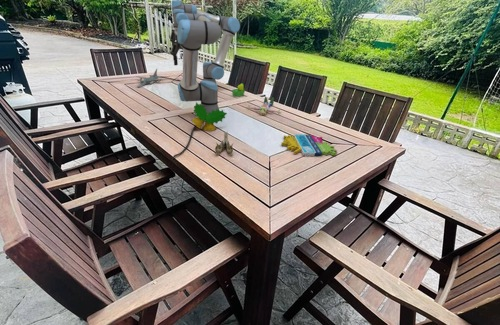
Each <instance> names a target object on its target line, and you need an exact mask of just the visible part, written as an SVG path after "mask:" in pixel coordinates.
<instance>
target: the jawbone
mask: <svg viewBox="0 0 500 325" xmlns="http://www.w3.org/2000/svg"><path fill="white" fill-rule="evenodd" d="M223 135H224V136H223V140H222V139H221V142H220V144H218V142H215V144H216V146H215V148H214V149H215V152H214V154H215V155H217V156H218V155H220V153H221V152H223V151H224V150H226V152H227V153H228V155H229V156H233V155H234V154H233V153H234V148H233V144H234V143H230V140H228V139H229V138H228V137H229V136H228V135H229V133H228V131H226V132H224V134H223Z"/></svg>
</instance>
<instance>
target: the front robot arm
mask: <svg viewBox="0 0 500 325" xmlns="http://www.w3.org/2000/svg"><path fill="white" fill-rule="evenodd" d="M173 16H174V22H173V23H174V28H173V29H175V34H176V35H175V41H173V47H172V46H171V51H170V55H172V57H173V58H172V59H173V60H172V61H173V66H178V65H179V63H178V53H179V51H180V50H182V78H181V79H180V80H181V81H179V82H178V83H177V90H178V91H177V92H178V95H179V100H180V101H181V102H186V103H188V102H200V104H201V106H204V109H206V112H208V113H211V112H212V110H214V111H216V110H217V109H219V111H221V110H220V108H219V102H218V99H219V98H218V97H219V88H218V84H216V83H217V82H216V83H215V82H212V81H206V80H203V79H202V80H200V81H198V80H197V77H198V76H197V75H198V61H199V51H200V50H201V49H202V45H212V44H215V43H217V42H218V41H219V40H220V39H221V37H222V29H221V28H220V26H219V25H218V24H217V23H216V22H214V21H210V17H209V15H205V14H190V13H185V11H184V10H181V9H174V10H173ZM173 16H172V17H173ZM208 113H207V115H208ZM196 127H197V126H196V125H194V126H193V128H192V130H191V132H190V134H189V139H188V142H187V144H186V146H185V147H184V149H183V150H181V151H180V152H179V153H176V154H174V155H173V156H172V158H171V161H174V159H175V158H176V157H177V156H180V155H182V154H183V153H184V152H185V151H186V150H187V148H188V147H189V145H190V143H191V140H192V136H193V132H194V131H195V129H196Z"/></svg>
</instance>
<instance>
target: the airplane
mask: <svg viewBox="0 0 500 325" xmlns="http://www.w3.org/2000/svg"><path fill="white" fill-rule="evenodd" d="M148 76H149V77H147V76H135V78H138V79H139V83H138V84H137V86H136V87H135V88H141V87H143V86H146V85H152V84H154V83H155V82H157V83H160V82H161V81H167V78H163V79H162V77H164V76H161V75H158V68H156V69H155V71H154V72H153V74H152V75H151V74H149V75H148Z"/></svg>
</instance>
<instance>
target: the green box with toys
mask: <svg viewBox="0 0 500 325" xmlns="http://www.w3.org/2000/svg"><path fill="white" fill-rule="evenodd" d="M244 87H245V86H244V83H240V84H239V85H237V88H234V89H231V94H232V96H233V97H236V98H238V97H239V98H240V97H243V96H244V95H245V92H246V89H245V88H244Z"/></svg>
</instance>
